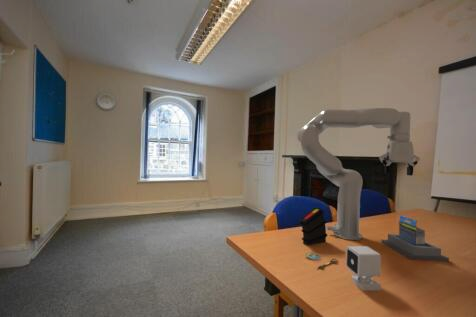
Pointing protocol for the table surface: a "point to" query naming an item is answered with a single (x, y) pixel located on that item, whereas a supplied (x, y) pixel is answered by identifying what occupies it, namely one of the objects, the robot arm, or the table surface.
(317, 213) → the black ridged block
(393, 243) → the slot holder
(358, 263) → the security camera
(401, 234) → the label tape box
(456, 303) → the table surface
